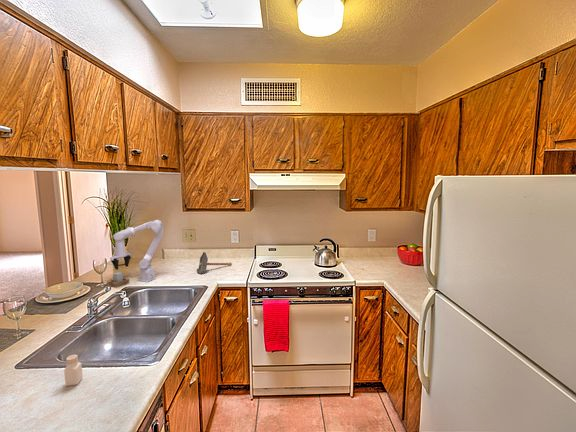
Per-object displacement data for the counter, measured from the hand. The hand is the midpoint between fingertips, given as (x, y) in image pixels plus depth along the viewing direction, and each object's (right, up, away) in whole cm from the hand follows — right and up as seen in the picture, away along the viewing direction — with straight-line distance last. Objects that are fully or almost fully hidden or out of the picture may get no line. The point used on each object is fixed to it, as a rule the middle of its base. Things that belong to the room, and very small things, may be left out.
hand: (121, 267), depth 205 cm
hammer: (+59, -7, +29) cm, 66 cm away
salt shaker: (+42, -22, -102) cm, 113 cm away
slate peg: (+1, -11, -5) cm, 12 cm away
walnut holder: (+1, -11, -5) cm, 12 cm away
